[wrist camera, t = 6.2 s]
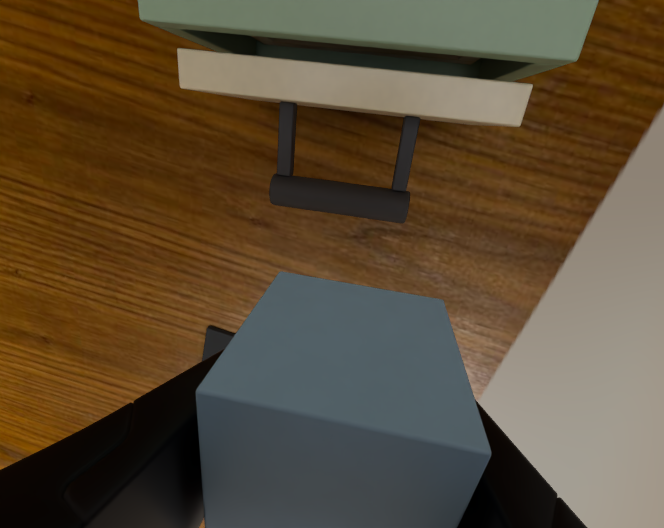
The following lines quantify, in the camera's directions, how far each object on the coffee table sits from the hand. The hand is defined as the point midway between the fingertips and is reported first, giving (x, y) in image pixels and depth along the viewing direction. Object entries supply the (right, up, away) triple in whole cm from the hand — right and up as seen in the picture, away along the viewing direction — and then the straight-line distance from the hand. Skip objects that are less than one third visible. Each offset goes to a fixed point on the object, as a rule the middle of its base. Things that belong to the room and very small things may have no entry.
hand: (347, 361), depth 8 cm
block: (0, 0, 0) cm, 0 cm away
